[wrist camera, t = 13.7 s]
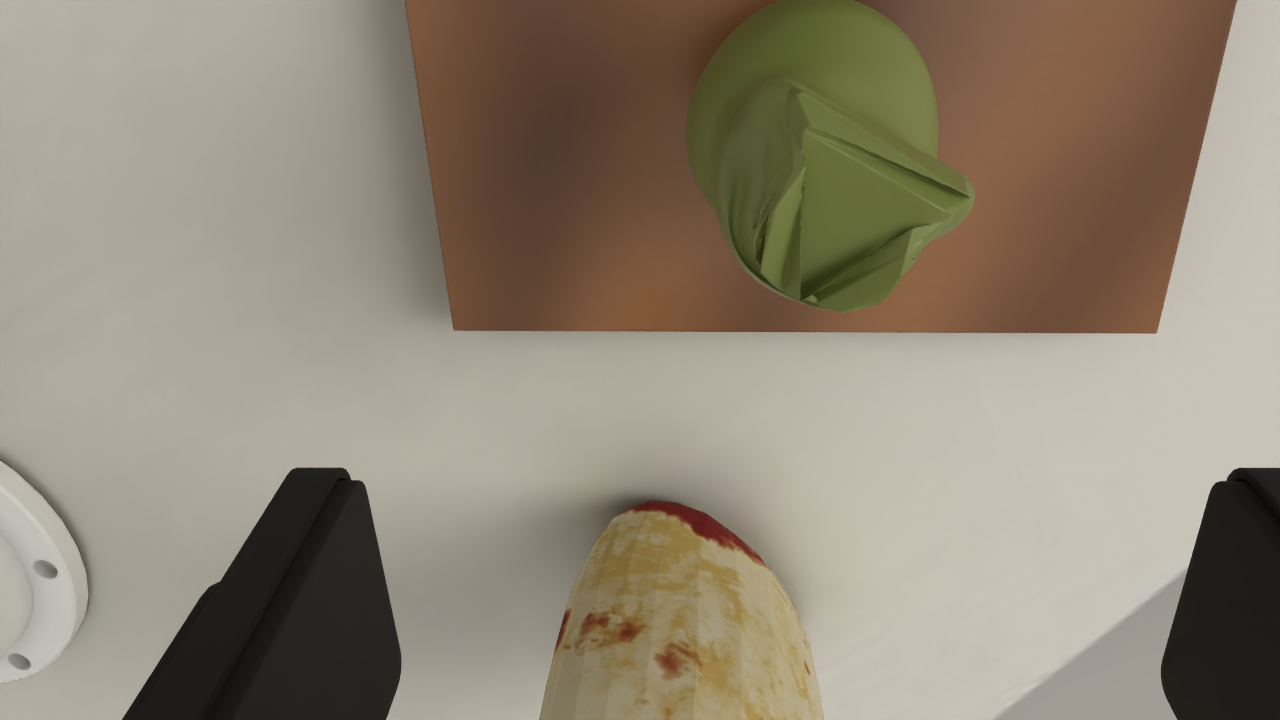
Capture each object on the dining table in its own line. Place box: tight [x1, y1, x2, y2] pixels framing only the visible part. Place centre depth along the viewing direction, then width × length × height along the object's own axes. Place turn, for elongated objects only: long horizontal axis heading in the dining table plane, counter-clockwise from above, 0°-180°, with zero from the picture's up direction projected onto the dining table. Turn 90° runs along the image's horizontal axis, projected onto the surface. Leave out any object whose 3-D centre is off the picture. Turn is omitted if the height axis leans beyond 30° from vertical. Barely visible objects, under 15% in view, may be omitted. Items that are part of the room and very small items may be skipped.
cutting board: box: [405, 0, 1237, 333], centre depth 26 cm, size 20×13×2 cm, turn 92°
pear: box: [686, 0, 975, 313], centre depth 21 cm, size 6×5×10 cm
